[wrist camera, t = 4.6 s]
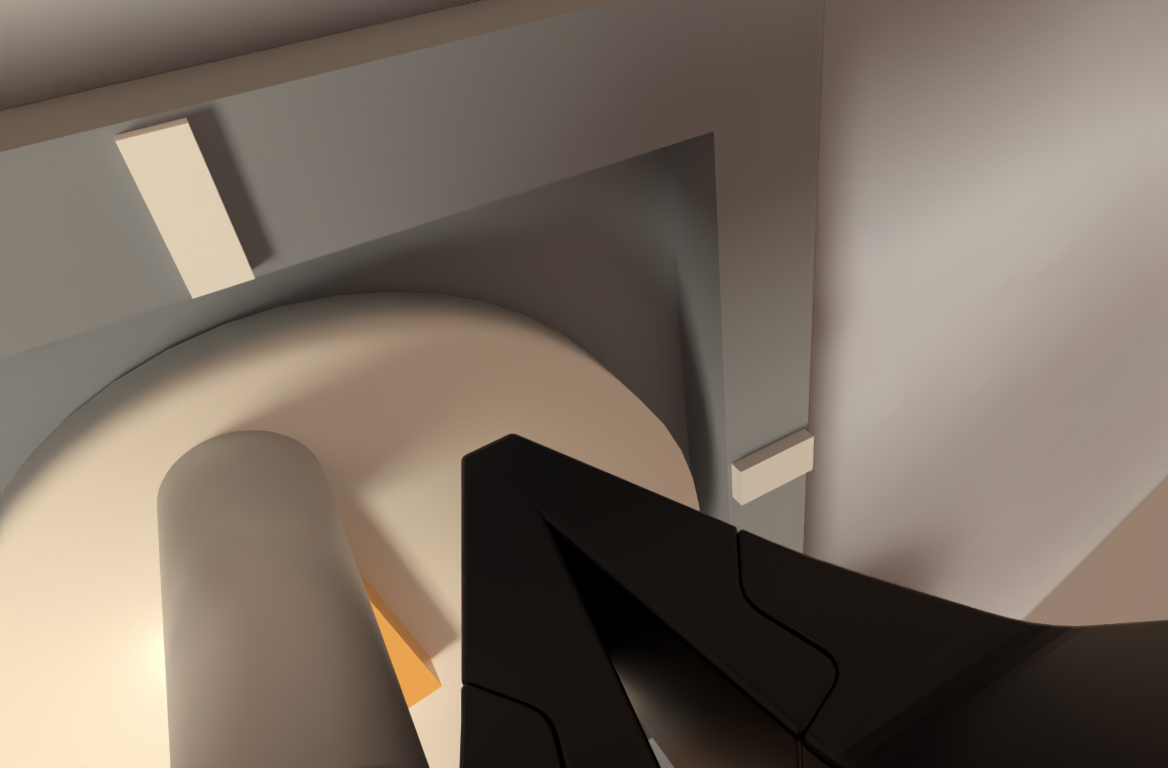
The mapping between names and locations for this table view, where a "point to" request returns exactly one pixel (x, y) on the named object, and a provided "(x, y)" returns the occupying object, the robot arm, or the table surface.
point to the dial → (282, 535)
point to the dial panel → (452, 211)
